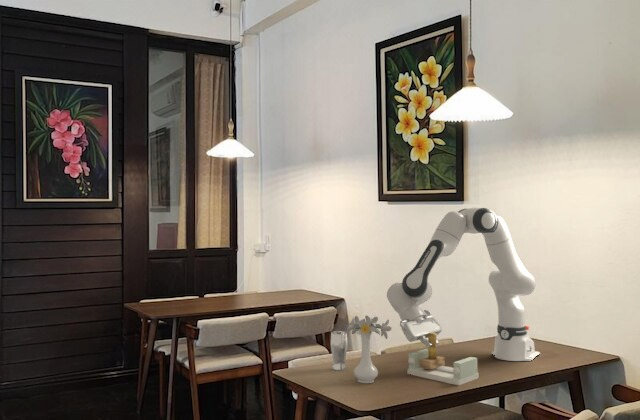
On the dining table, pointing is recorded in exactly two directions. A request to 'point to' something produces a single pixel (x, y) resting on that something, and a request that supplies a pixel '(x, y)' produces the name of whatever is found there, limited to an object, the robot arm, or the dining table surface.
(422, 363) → the carriage
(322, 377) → the dining table surface
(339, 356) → the beer glass
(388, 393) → the dining table surface
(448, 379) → the track
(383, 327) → the flower vase
